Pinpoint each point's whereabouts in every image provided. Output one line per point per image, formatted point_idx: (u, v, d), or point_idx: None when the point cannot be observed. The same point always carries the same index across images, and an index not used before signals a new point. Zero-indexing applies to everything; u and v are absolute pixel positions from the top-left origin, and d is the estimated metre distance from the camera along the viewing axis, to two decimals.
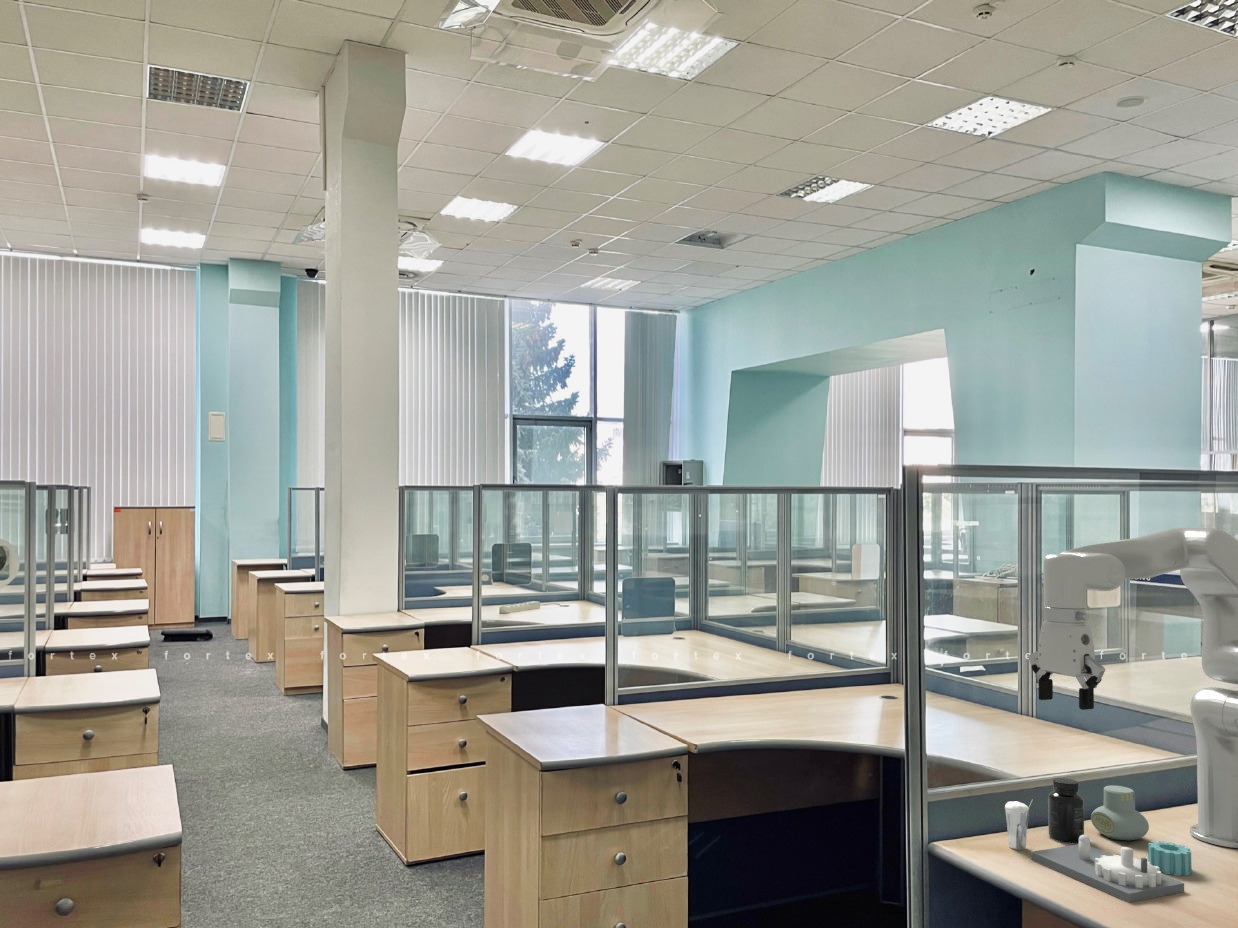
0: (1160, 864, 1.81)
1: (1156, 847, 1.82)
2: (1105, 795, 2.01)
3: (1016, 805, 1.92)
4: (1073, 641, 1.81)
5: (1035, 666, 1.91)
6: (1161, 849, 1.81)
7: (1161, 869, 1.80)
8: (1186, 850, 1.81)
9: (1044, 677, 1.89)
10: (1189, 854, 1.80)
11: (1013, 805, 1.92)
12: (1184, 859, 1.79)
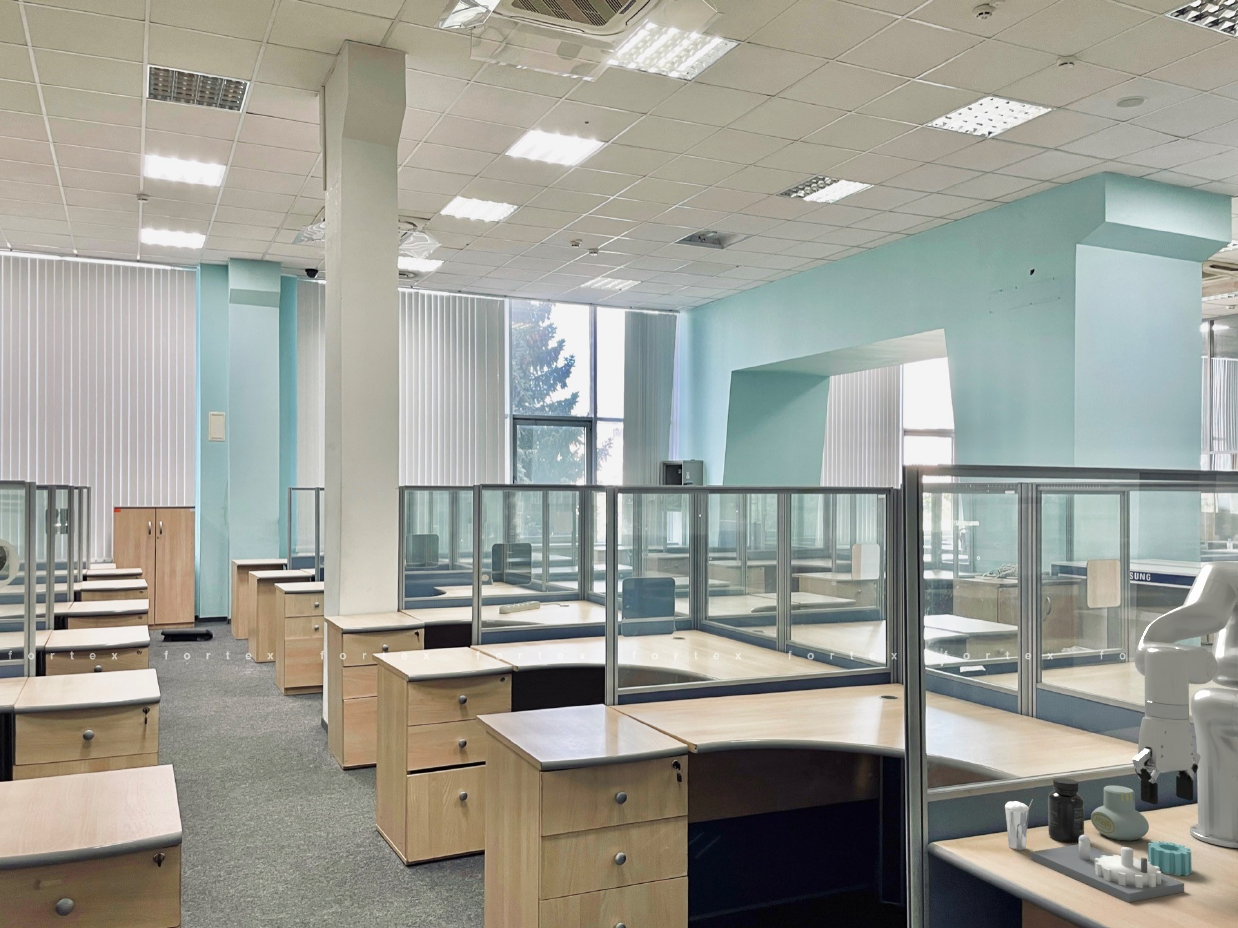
0: (1160, 864, 1.81)
1: (1156, 847, 1.82)
2: (1105, 795, 2.01)
3: (1016, 805, 1.92)
4: (1191, 735, 1.83)
5: (1146, 770, 1.80)
6: (1161, 849, 1.81)
7: (1161, 869, 1.80)
8: (1186, 850, 1.81)
9: None
10: (1189, 854, 1.80)
11: (1013, 805, 1.92)
12: (1184, 859, 1.79)
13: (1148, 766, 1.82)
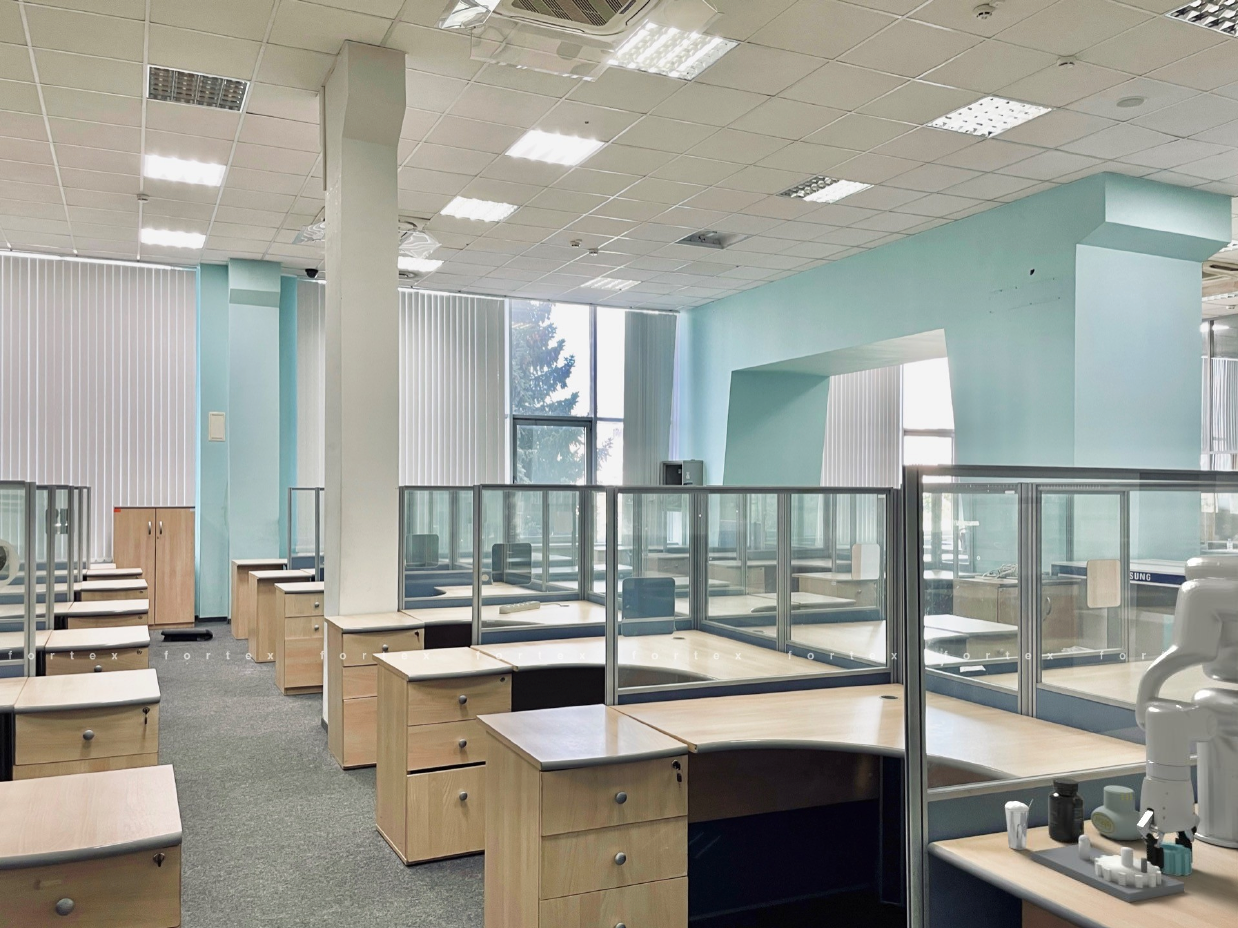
0: None
1: None
2: (1105, 795, 2.01)
3: (1016, 805, 1.92)
4: (1192, 794, 1.82)
5: (1151, 834, 1.80)
6: None
7: (1161, 869, 1.80)
8: (1186, 850, 1.81)
9: None
10: (1189, 854, 1.80)
11: (1013, 805, 1.92)
12: (1184, 859, 1.79)
13: (1152, 829, 1.81)
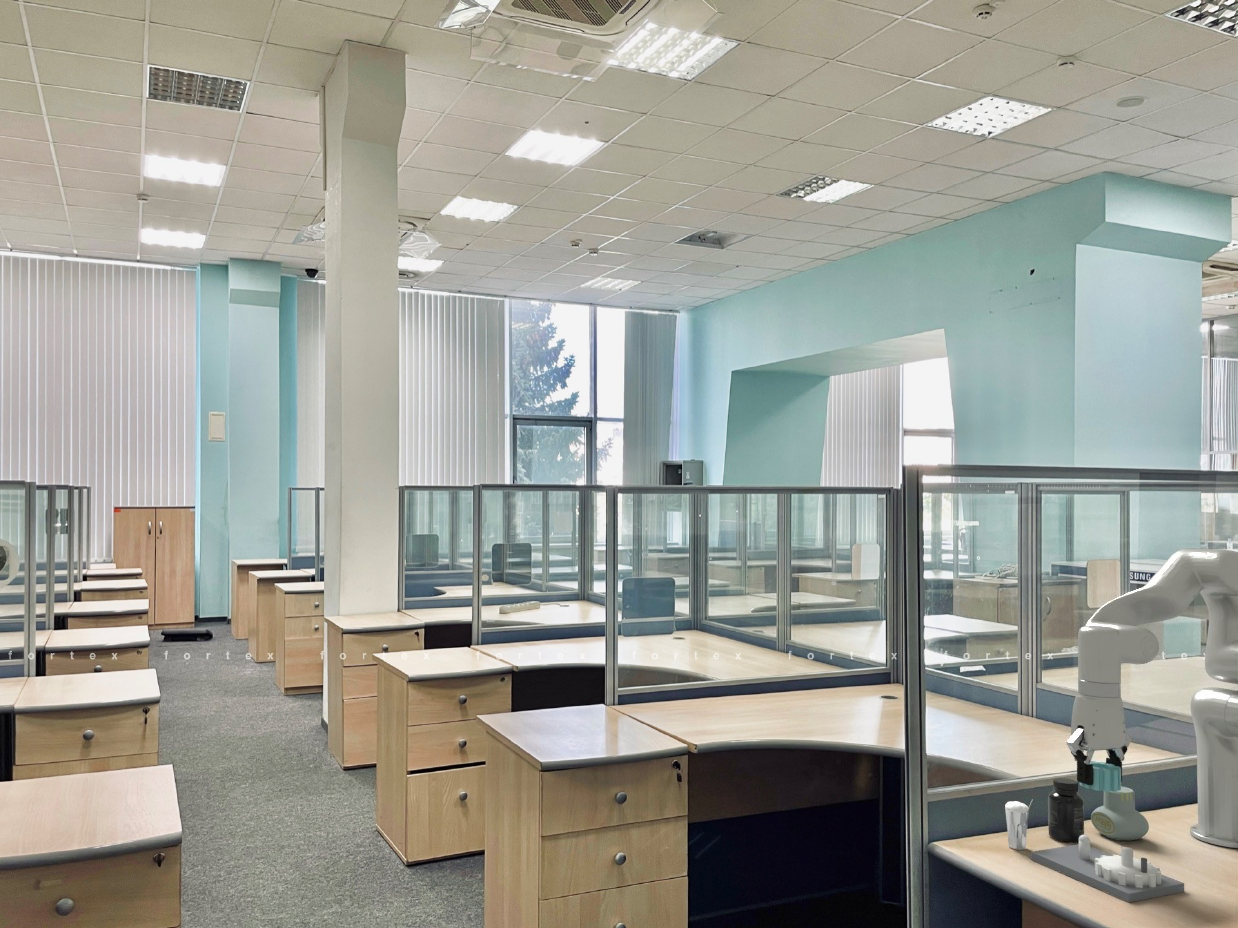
0: None
1: None
2: (1105, 795, 2.01)
3: (1016, 805, 1.92)
4: (1123, 713, 1.84)
5: (1081, 751, 1.81)
6: None
7: (1091, 786, 1.81)
8: (1116, 768, 1.82)
9: None
10: (1118, 771, 1.81)
11: (1013, 805, 1.92)
12: (1113, 776, 1.80)
13: (1082, 747, 1.82)
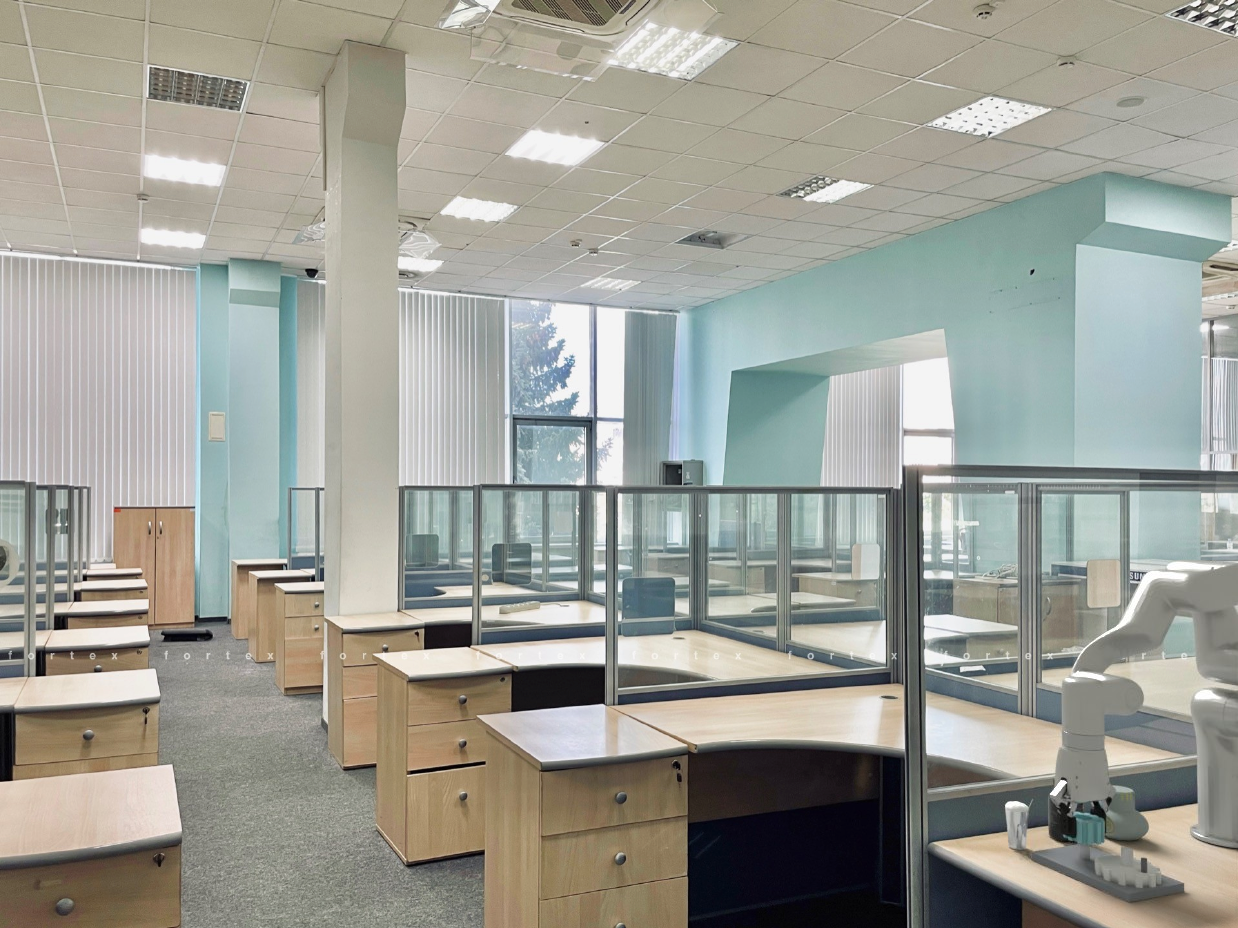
0: None
1: None
2: None
3: (1016, 805, 1.92)
4: (1107, 764, 1.83)
5: (1064, 804, 1.80)
6: None
7: (1074, 838, 1.81)
8: (1099, 820, 1.81)
9: None
10: (1102, 824, 1.80)
11: (1013, 805, 1.92)
12: (1096, 828, 1.80)
13: (1066, 799, 1.82)
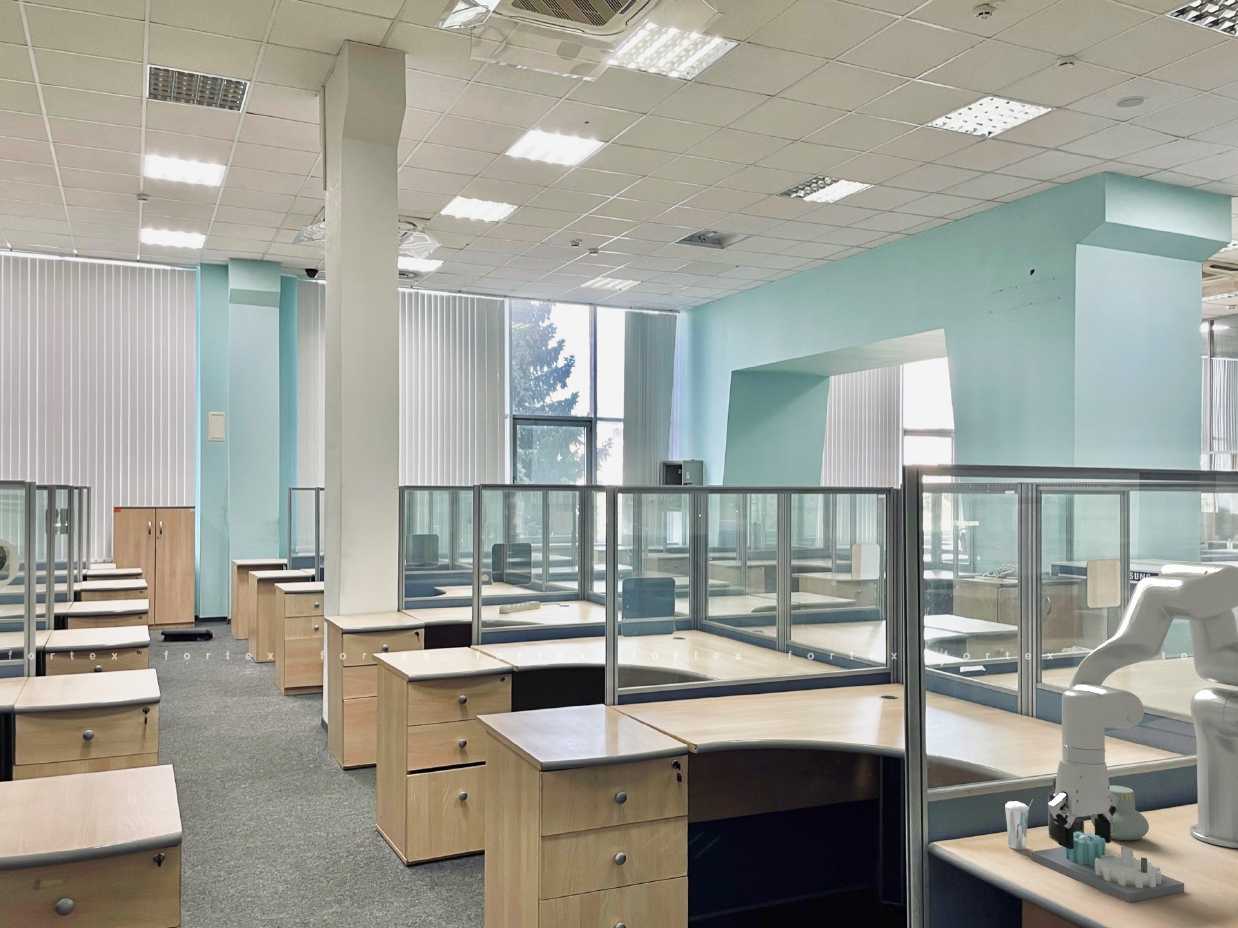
0: (1074, 854, 1.81)
1: None
2: None
3: (1016, 805, 1.92)
4: (1107, 778, 1.83)
5: (1061, 815, 1.80)
6: (1076, 839, 1.82)
7: (1075, 859, 1.81)
8: (1100, 840, 1.81)
9: None
10: (1103, 844, 1.80)
11: (1013, 805, 1.92)
12: (1098, 849, 1.79)
13: (1064, 810, 1.82)
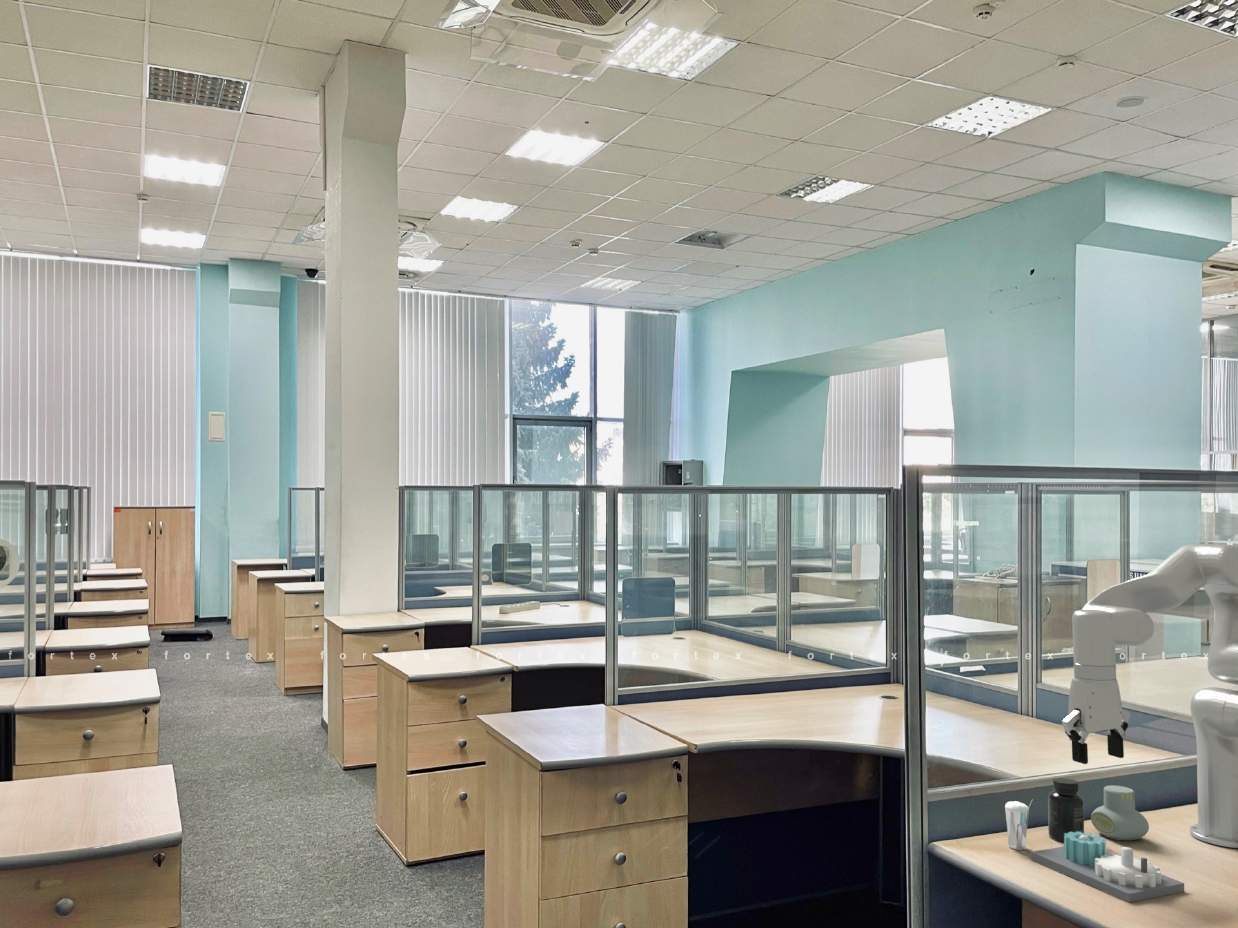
0: (1074, 854, 1.81)
1: (1071, 837, 1.83)
2: (1105, 795, 2.01)
3: (1016, 805, 1.92)
4: (1119, 694, 1.86)
5: (1075, 731, 1.83)
6: (1076, 839, 1.82)
7: (1075, 859, 1.81)
8: (1100, 840, 1.81)
9: None
10: (1103, 844, 1.80)
11: (1013, 805, 1.92)
12: (1098, 849, 1.79)
13: (1078, 727, 1.85)
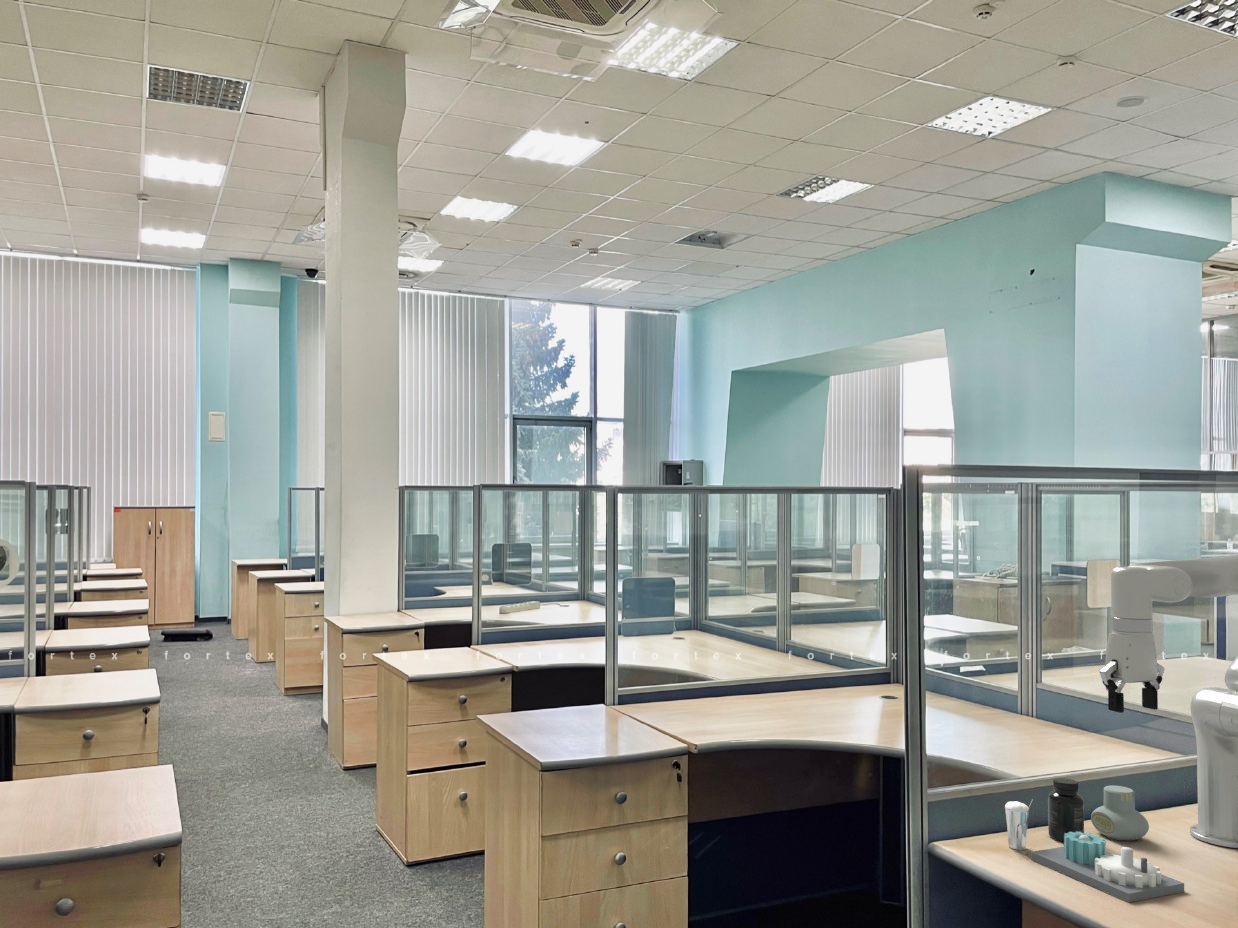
0: (1074, 854, 1.81)
1: (1071, 837, 1.83)
2: (1105, 795, 2.01)
3: (1016, 805, 1.92)
4: (1154, 648, 1.94)
5: (1112, 681, 1.91)
6: (1076, 839, 1.82)
7: (1075, 859, 1.81)
8: (1100, 840, 1.81)
9: None
10: (1103, 844, 1.80)
11: (1013, 805, 1.92)
12: (1098, 849, 1.79)
13: (1115, 678, 1.93)
